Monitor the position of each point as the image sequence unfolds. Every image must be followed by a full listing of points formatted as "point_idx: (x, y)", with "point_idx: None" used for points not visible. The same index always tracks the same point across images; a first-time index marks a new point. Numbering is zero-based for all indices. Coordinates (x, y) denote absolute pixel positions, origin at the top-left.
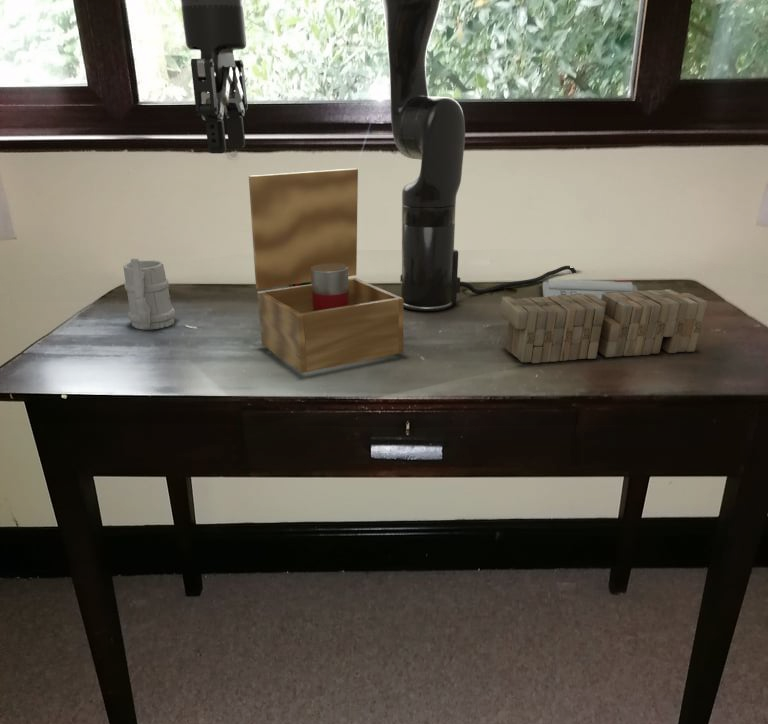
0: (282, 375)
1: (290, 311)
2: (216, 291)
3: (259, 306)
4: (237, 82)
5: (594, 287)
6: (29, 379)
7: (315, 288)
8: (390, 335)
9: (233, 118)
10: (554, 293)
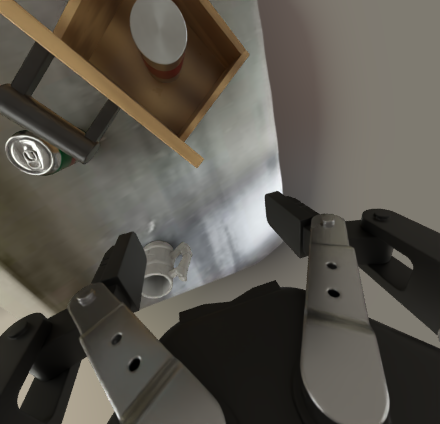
0: (229, 91)
1: (236, 71)
2: (45, 271)
3: None
4: (178, 361)
5: None
6: (271, 242)
7: (183, 56)
8: None
9: (130, 292)
10: None
